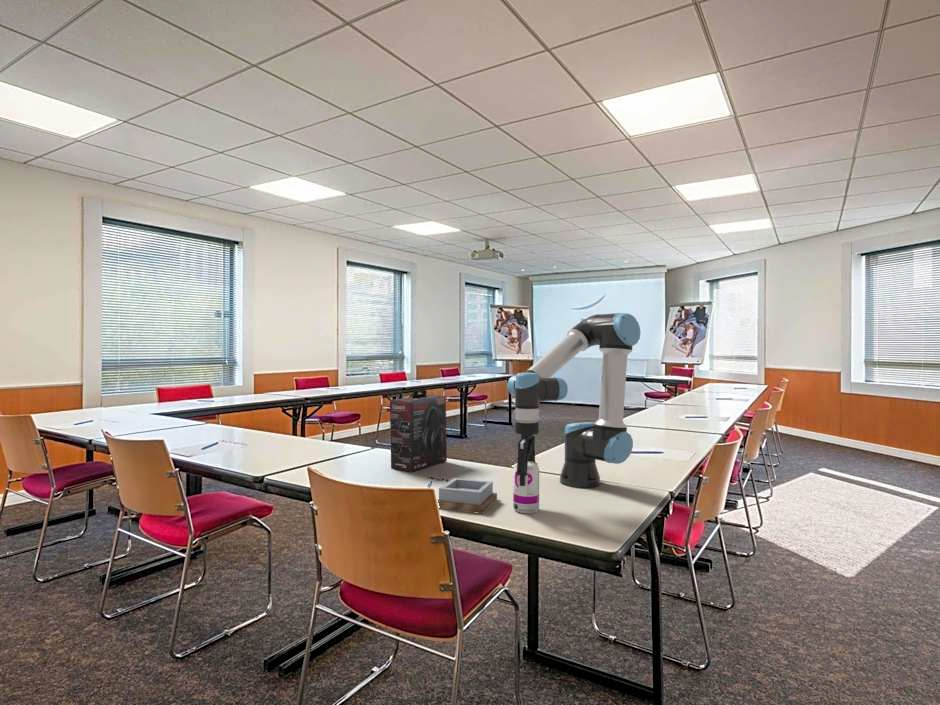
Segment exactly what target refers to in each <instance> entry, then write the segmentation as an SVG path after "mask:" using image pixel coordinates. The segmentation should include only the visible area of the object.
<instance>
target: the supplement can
mask: <svg viewBox="0 0 940 705" xmlns="http://www.w3.org/2000/svg"><path fill="white" fill-rule="evenodd" d="M538 464H539V463H537V462H536V461H535V462H532V461H528V466H527V475H528V487H527V496H518V482H519V475H516V472H517V461H516V462H515V464H514V466H513V482H512V483H513V486H512V488H513V493H512V494H513V495H512V496H513V498H512V500H513V502H512V506H513V509H514V511H515V510H516V512H517V513H519V512H520V513H521V514H534V512H535V513H537V512H538V510H539V509H540V467H539V465H538ZM521 471H523V470H521ZM536 511H537V512H536Z"/></svg>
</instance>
